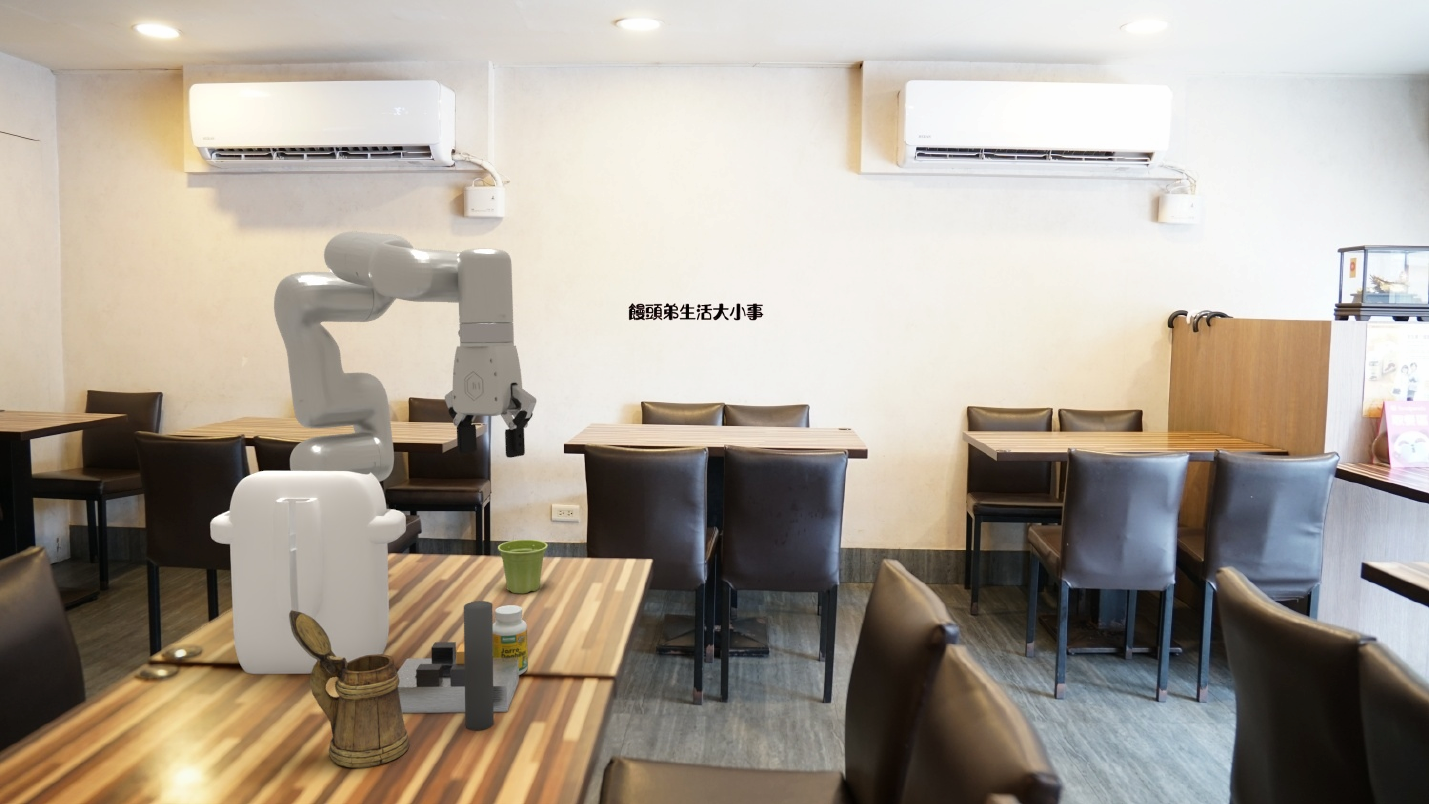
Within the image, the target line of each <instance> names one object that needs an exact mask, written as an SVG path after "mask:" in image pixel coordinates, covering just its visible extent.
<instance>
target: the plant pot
mask: <svg viewBox="0 0 1429 804" xmlns="http://www.w3.org/2000/svg"><path fill="white" fill-rule="evenodd" d="M548 546H549V545H548V543H547V542H545V541H542V540H536V539H516V540H515V539H514V540H511V541H506V542H503V543H501V544H500V543H499V545H498V546H497V550H498V552H500V553H499V554H500V557H501V559H502V564H503V570H504V576H505V584H506V588H507V591H510V592H511V593H513V594H522V595H523V594H528V593H529V592H537V590H539V589H540V584H541V576H542V569H543V561H544V556H545V555H546V550H547V549H548Z"/></svg>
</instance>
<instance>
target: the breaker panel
mask: <svg viewBox="0 0 1429 804" xmlns="http://www.w3.org/2000/svg"><path fill="white" fill-rule="evenodd" d="M456 651H457V642H456V641H455V642H453V641H447V642H446V641H445V642H444V641H443V642H437V641H436V642H434V643H433V645H432V646H431V658H427V657H426V658H423V657H422V658H406V659H405V661H404V662H403V664H401V666H400V668H399V669H398V670H397V672H398V676H399V680H400V682H399V685H398V691H399V697H400V703H401V709H402V714H421V713H423V714H425V713H426V714H427V713H428V714H429V713H430V714H431V713H433V714H434V713H435V714H436V713H465V664H456ZM519 680H520V675H519V658H493V710H494V713H498V712H499V713H502V712H503V713H504V712H506V713H507V712H508V710H509V708H510V705H511V703H512V700H513V697H514V695H515V692H516V689H517V687H518V684H519V682H520V681H519Z"/></svg>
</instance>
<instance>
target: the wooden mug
mask: <svg viewBox="0 0 1429 804" xmlns="http://www.w3.org/2000/svg"><path fill="white" fill-rule="evenodd" d="M289 619H290V625H291V630H292V633H293V635H294V637H295V639H296V640H297V642H298V643H299V644H300V645H301V647H302V648H303V649H304V650H305V651H306V652H307V653H308V654H309V655H310V656H311V657H313V658H315V659H317V662H316V664H315V665H314V667H313V669H312V672H311V673H310V681H309V685H310V689H311V695H313V697H314V700H315V701H316V703H317V704H318V707H320V709H321V710H322V711H323V712H324V714H325V716H326V718H327V719H328V721H329V724H330V728H331V732H332V737H331V739H330V743H329V748H328V752H329V757H330V758H331V760H332V761H333V762H334V763H335V764H336V765H338V766H340V767H345V768H353V769H354V768H355V769H364V768H371V767H375V766H380V765H383V764H387V763H388V762H391V761H393V760H396V759H398V758H400V757H401V756H402V755H404V754H405V753H406V752H407V750H408V749H409V747H410V739H409V736H408V730H407V729H406V728H405V726H406V725H405V721H404V716H403V715H404V714H403V713H402V709H401V703H400V697H399V691H398V685H399V682H400V680H399V676H398V670H397V668H396V667H395V660H394V658H393V656H391V655H387V654H382V655H381V654H377V655H366V656H362V657H359V658H357V659H354V660H352V661H350V662H348V663H347V661H346V659H345V658H343V657H336V655H335V654H334V653H333V652H332V650H331V643H330V641H329V638H328V636H327V634H326V632H325V631H324V630H323V628H322V627H321V626H320V625H319V624H318V623H317V622H316V621H315V620H314V619H313V618H311V617H310V616H308V615H306V614H304V613H301V612H298V611H293V610H291V611H290V613H289ZM333 678H337V680H336V681H335V684H334V689H335V692H336V693H337V695H338V696H337V697H336V696H333V695H330V694H329V692H328V690H327V688H326V687H327V686H326V685H327V684H328V682H329V680H331V679H333Z"/></svg>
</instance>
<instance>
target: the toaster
mask: <svg viewBox="0 0 1429 804" xmlns="http://www.w3.org/2000/svg"><path fill="white" fill-rule="evenodd" d="M229 504H230V505H229V510H227V511H225V512H222V513H221V514H218V515H217V516H215V517H214V518H212V519H211V521H210V523H209V526H210V527H209V528H210V537H211V540H213V541H214V542H216V543H219V544H225V545H229V547H230V548H229V549H230V573H231V575H230V577H231V597H232V598H231V599H232V600H231V601H232V626H233V627H232V628H233V642H234V648H235V653H236V656H237V660H238V662H239V664H240V666H241V668H242V670H243V671H244V673H246V674H250V675H251V674H253V675H280V674H283V675H284V674H285V675H289V674H290V675H292V674H293V675H294V674H295V675H296V674H297V675H298V674H303V675H304V674H310V675H311V672H312V669H313V667H314V665H315V664H316V662H317V659H315V658H313V657H311V656H310V655H309V654H308V653H307V652H306V651H305V650H304V649H303V648H302V647H301V645H300V644H299V643H298V642H297V640H296V639H295V637H294V635H293V633H292V630H291V625H290V619H289V613H290V611H291V610H293V611H298V612H301V613H304V614H306V615H308V616H310V617H311V618H313V619H314V620H315V621H316V622H317V623H318V624H319V625H320V626H321V627H322V628H323V630H324V631H325V632H326V634H327V636H328V638H329V641H330V643H331V650H332V652H333V653H334V654H335V655H336V657H343V658H345V659H346V661H347V663H348V662H350V661H352V660H354V659H357V658H359V657H362V656H366V655H377V654H381V655H384V652H385V650H386V647H387V644H388V638H389V633H390V605H389V604H390V601H389V596H390V595H389V561H388V560H389V557H388V556H389V555H388V551H389V549H388V544H389V543H392V542H395V541H397V540H398V539H399V538H400V537H402V536H403V535H404V534H405V533H406V529H407V523H406V522H407V521H406V520H407V517H406V515H405V513H404V512H402V511H401V510H396V509H395V508H393V509H391V508H387V503H386V497H385V494H384V489H383V487H382V485H381V483H380V482H379V481H378V480H377V478H376V477H375V476H374V475H373V474H372V473H371V472H370V474H360V473H355V472H350V471H291V470H263V471H262V470H261V471H256V472H255V473H252V474H249V475H247V476H246V477H244V478H242V479H241V480H240V481H239V482H238V484H237V485H236V487H235V489H234V491H233V493H232V496H231V499H230V503H229Z"/></svg>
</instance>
